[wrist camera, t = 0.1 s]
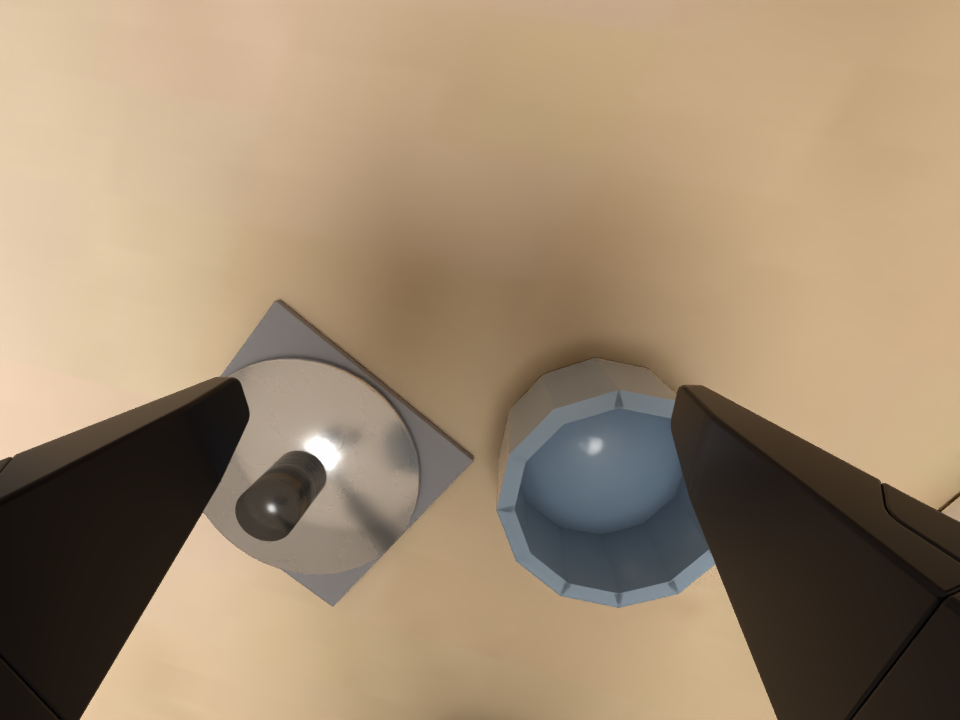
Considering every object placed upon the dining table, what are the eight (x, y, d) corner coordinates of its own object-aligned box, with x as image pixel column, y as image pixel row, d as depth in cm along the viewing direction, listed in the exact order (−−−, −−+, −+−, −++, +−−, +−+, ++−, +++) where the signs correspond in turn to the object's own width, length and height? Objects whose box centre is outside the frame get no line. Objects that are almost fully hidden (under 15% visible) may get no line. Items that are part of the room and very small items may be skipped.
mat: (335, 600, 30) (332, 606, 29) (155, 470, 28) (149, 474, 28) (473, 457, 27) (473, 461, 26) (279, 299, 25) (275, 300, 24)
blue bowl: (597, 565, 28) (618, 642, 23) (464, 457, 27) (452, 511, 21) (734, 446, 25) (794, 500, 20) (594, 320, 24) (618, 342, 19)
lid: (332, 602, 29) (299, 670, 25) (154, 474, 28) (83, 520, 23) (468, 461, 26) (459, 508, 22) (276, 306, 24) (222, 321, 20)
